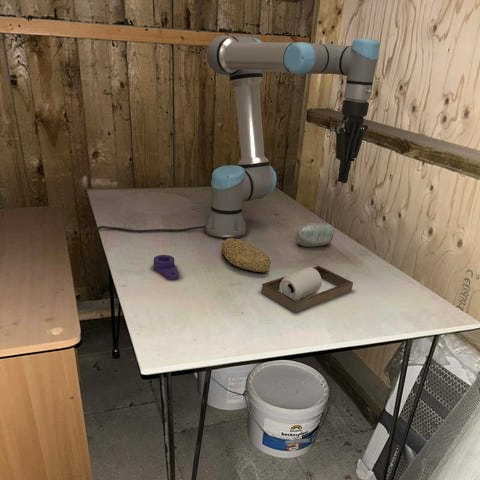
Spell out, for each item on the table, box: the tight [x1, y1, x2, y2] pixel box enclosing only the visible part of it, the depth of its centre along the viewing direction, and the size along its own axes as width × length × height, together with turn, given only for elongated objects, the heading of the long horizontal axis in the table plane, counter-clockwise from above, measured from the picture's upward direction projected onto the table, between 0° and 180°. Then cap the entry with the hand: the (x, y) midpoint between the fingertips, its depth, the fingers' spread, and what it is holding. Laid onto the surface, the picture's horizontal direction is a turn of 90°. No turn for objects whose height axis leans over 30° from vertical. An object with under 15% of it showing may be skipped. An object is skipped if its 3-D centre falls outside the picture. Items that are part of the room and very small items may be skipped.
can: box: [278, 266, 323, 301], centre depth 137 cm, size 8×8×12 cm
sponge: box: [221, 238, 272, 273], centre depth 154 cm, size 13×8×20 cm
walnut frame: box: [261, 265, 354, 314], centre depth 141 cm, size 24×14×3 cm, turn 129°
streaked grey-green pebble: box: [295, 221, 335, 248], centre depth 172 cm, size 14×10×10 cm
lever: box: [153, 254, 180, 281], centre depth 146 cm, size 12×6×3 cm, turn 29°
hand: (342, 181), depth 151 cm, fingers closed
